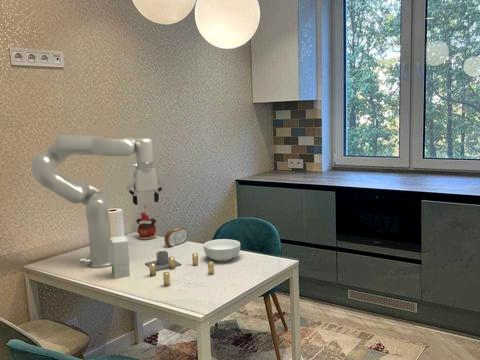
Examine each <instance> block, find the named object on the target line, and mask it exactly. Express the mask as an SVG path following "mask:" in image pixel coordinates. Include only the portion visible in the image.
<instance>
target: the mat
mask: <svg viewBox="0 0 480 360" xmlns="http://www.w3.org/2000/svg"><path fill="white" fill-rule="evenodd" d="M168 260H169V257H168ZM150 263H155V269H156V272H159V271H163V270H168V269H170V268H169V263H168V264H166V265H158V264H157V259H156V260H153V261H147V262H144V264H145V265H146V266H147V267H149V264H150ZM179 266H182V264H181V262H179V261H177V260H175V268H176V267H179Z"/></svg>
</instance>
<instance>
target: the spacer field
mask: <svg viewBox="0 0 480 360" xmlns="http://www.w3.org/2000/svg"><path fill="white" fill-rule="evenodd" d="M191 256H192V257H191V258H192V266H193V267H197V266H199V255H198V253H197V252H196V253H192V254H191ZM168 258H169V268H168V269H169V270H170V271H171V270H175V269H176V267H175V261H176V260H175V256H168ZM148 268H149V276H150V277H156V276H157V271H156V269H155V263H150V264H149V266H148ZM207 271H208V272H207V273H208V275H211V276H213V275H215V262H214V261H212V260H211V261H210V260H209V261H208V262H207ZM170 275H171V274H170V272H169V271H164V272H162V276H163V278H162V279H163V287H170V286H171V277H170Z"/></svg>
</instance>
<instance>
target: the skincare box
mask: <svg viewBox="0 0 480 360" xmlns="http://www.w3.org/2000/svg"><path fill="white" fill-rule="evenodd" d="M110 246H111V261H112V265H111V271H112V272H111V273H112V275H113V277H114V279H120V278H126V277H130V275H131V274H130V273H131V271H130V256H129V253H130V252H129V241H128V238H127V237H126V236H125V235H121V236H114V237H112V236H111V238H110Z"/></svg>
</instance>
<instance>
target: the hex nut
mask: <svg viewBox="0 0 480 360" xmlns="http://www.w3.org/2000/svg"><path fill="white" fill-rule="evenodd" d="M155 255H156V260H157V264H158V265H166V264H168V263H169V260H168V258H169V251H166V250H160V251H158V252H156V253H155Z"/></svg>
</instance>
